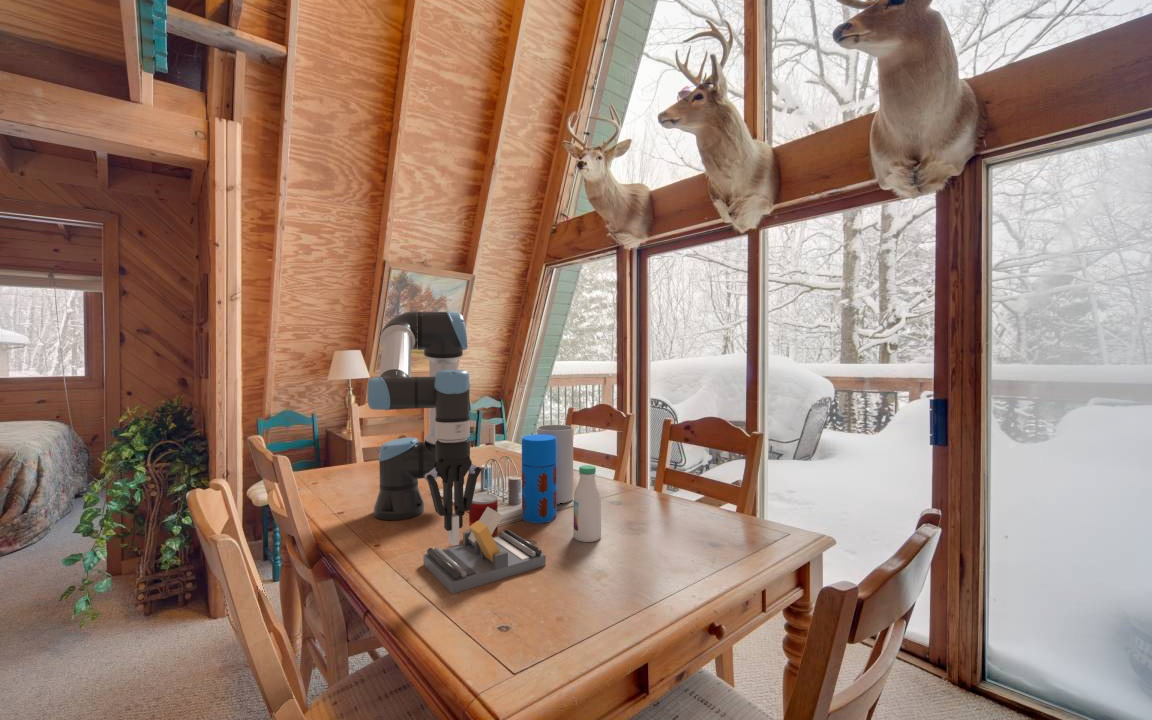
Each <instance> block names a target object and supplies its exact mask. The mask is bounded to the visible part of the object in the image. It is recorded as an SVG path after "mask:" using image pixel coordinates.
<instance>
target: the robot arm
mask: <svg viewBox="0 0 1152 720" xmlns="http://www.w3.org/2000/svg"><path fill="white" fill-rule="evenodd" d="M379 337H380V338H379V343H380V347H381V348H382V351H381V358H380V359H381V360H380V364H379V365H380V367H379V374H378V377H371V378H369V379H368V381H367V392H366V394H367V397H366V398H367V399H366V400H367V405H368V408H369V409H370V410H375V411H376V410H380V411H383V410H384V411H390V410H394V411H395V410H414V409H429V431H428V432H427V433H426V435H425V436H424V441H421V442H419V439H418V438H417V437H414V436H413V437H402V438H401V437H400V438H396V439H393V440H389V441H387V442H385V443H383V444H381V446H380V447H379V452H378V453H379V455H378V457H379V458H378V462H379V491H378V495H377V497H376V501H375V504H374V507H373V516H374V518H377V519H379V520H383V521H399V520H405V519H410V518H414V517H417V516H419V515H421V514H423V513H424V511H425V503H424V499H423V497H422V494H421V491H420V489H419V480H420V479H422V480H423V479H425V481H426V482H427V483H428V487H429V491H430V495H431V498H432V503H433V507H434V510H435V513H436V514H438V515H439V516H441V517H443V518H444V519H443V521H444V526H443V527H444V530H445V531H446V532H447V538H448V539H447V541H448V544H450V545H451V546H452V547H456V546H460V529H462V528H463V525H464V523H463V521H464V520H463V519H464V517H463V516H464V515H465V514H466V513H465V512H466V511H469V510H470V509H471V505H472V500H473V496H474V495H475V490H476V486H477V481H478V477H479V475H480V474H481V472H482V467H480V466H478V465H474V464H473V462H472V459H471V457H470V456H471V440H470V439H469V437H471V429H470V428H471V426H470V425H471V422H470V421H471V420H470V406H471V405H470V401H471V400H470V395H471V394H470V393H471V391H470V389H471V382H470V374H469V372H468V370H465V369H463V370H462V369H458V366H459V365H458V364H459V363H458V361H459V360H460V359H461V358H462V357H463V356H464V355H463V351H466V350H467V349H468V348H469V347H468V336H467V329H466V323H465V319H464V316H463V314H461V313H460V312H454V311H413V310H412V311H408V312H407V311H406V312H404V313H401V314H398V315H397V316H395V317H393V318H392V319H390V320H389V321H388V322H387V323H386V324H385V325H384V327H383V328H382V329H381V332H380V336H379ZM414 350H417V351H420V350H421V351H423V353H424V354H423V355H424V357H425V358H426V359H427V360H428V363H429V364H428V365H429V366H428V367H429V371H428V372H429V374H428V376H412V351H414ZM467 473H468V475H467ZM466 475H467V479H466V484H465V477H466ZM438 478H441V482H442V483H441V484H442V485H443V486H442V489H443V490H442V497H443V498H442V497H441V491H440V488H439V483H438V482H437V479H438ZM464 485H465V488H464ZM453 501H454V502H453ZM453 507H454V512H453Z"/></svg>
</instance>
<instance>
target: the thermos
mask: <svg viewBox="0 0 1152 720" xmlns="http://www.w3.org/2000/svg"><path fill="white" fill-rule="evenodd" d="M557 505H558V504H557V441H556V437H555V436H552V435H537V434H527V435H525V436H522V438H521V510H522V511H521V512H522V520H524V521H525V522H528V523H532V524H542V523H543V524H545V523H549V522H553V521H554V520H555V519H556V518H557V507H558V506H557Z"/></svg>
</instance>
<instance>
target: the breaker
mask: <svg viewBox="0 0 1152 720" xmlns="http://www.w3.org/2000/svg"><path fill="white" fill-rule="evenodd" d="M503 517H504V515H503V514H501V513H500V512H496V511H494V510H493V509H491V508H489V507H487V508H486V510H485V511H484V513H483V515H482V516H481V518H480V519H479V522H481V523H482V524H484V525H485V526H487V527H488V529H489V531H490V533H491V535H492V533H493V532H494V530H495V528H496V527H497V525H499V524H500V522H501V520H502V518H503ZM468 538H469V543H470V544H472V545H473V546H474V541H475V540H476V539H475V537H474V535H473V533H472V532H471V534H470V536H469V537H468ZM474 547H475V546H474Z"/></svg>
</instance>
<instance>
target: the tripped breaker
mask: <svg viewBox="0 0 1152 720" xmlns="http://www.w3.org/2000/svg"><path fill="white" fill-rule="evenodd" d="M470 529H471V531H472V533H473V535H474V537H475V539H476V540H477V542H478V544H479V546H480V548H481V550H482V552H483V554H484V556H485V557H486V558H488V559H489V560H490V561H492V562H493V554H497V553H500V551H499V549H498V547H497V545H496V543H495V541H494V539H493V537H492V535H491V533H490V531H489V529H488V527H487V526H485V525H484V524H482V523H481V522H479V521H476V522H475V523H474V524H472V525H471V526H470Z"/></svg>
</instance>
